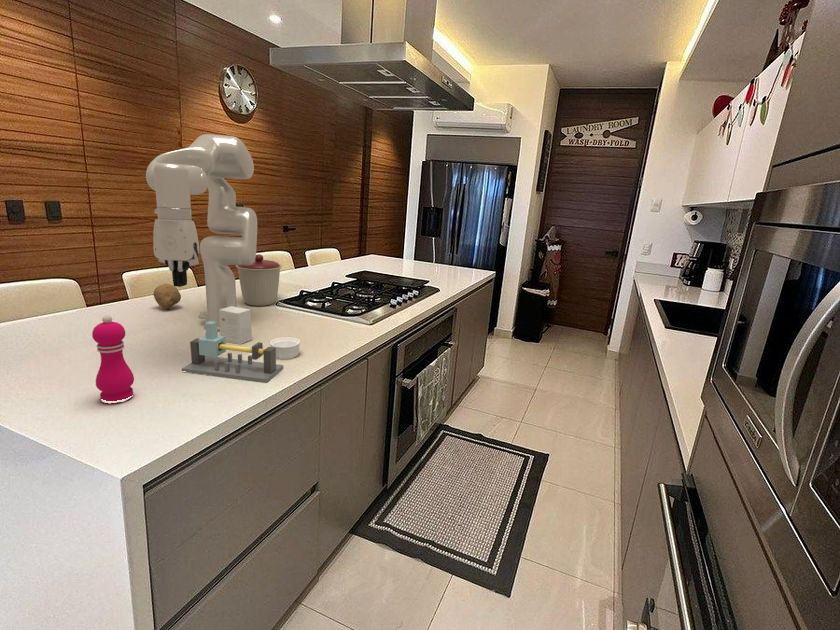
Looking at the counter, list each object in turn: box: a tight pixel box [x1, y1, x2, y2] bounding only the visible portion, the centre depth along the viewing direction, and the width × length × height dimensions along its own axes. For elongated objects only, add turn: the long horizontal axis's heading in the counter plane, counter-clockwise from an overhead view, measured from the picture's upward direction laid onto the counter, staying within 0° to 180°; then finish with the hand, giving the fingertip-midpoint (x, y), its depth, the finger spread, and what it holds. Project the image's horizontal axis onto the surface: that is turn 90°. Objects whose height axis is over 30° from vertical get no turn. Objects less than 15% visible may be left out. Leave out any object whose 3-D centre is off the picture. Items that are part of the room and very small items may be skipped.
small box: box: [219, 306, 253, 345], centre depth 141 cm, size 8×6×10 cm
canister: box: [235, 253, 282, 307], centre depth 184 cm, size 18×18×21 cm
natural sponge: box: [153, 283, 182, 310], centre depth 169 cm, size 9×9×10 cm
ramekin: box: [269, 336, 301, 360], centre depth 133 cm, size 9×9×4 cm
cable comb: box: [181, 337, 284, 384], centre depth 119 cm, size 24×10×8 cm, turn 82°
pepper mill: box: [91, 315, 135, 401], centre depth 98 cm, size 7×7×20 cm
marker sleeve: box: [198, 321, 227, 357], centre depth 118 cm, size 5×4×9 cm
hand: (180, 285), depth 115 cm, fingers closed
